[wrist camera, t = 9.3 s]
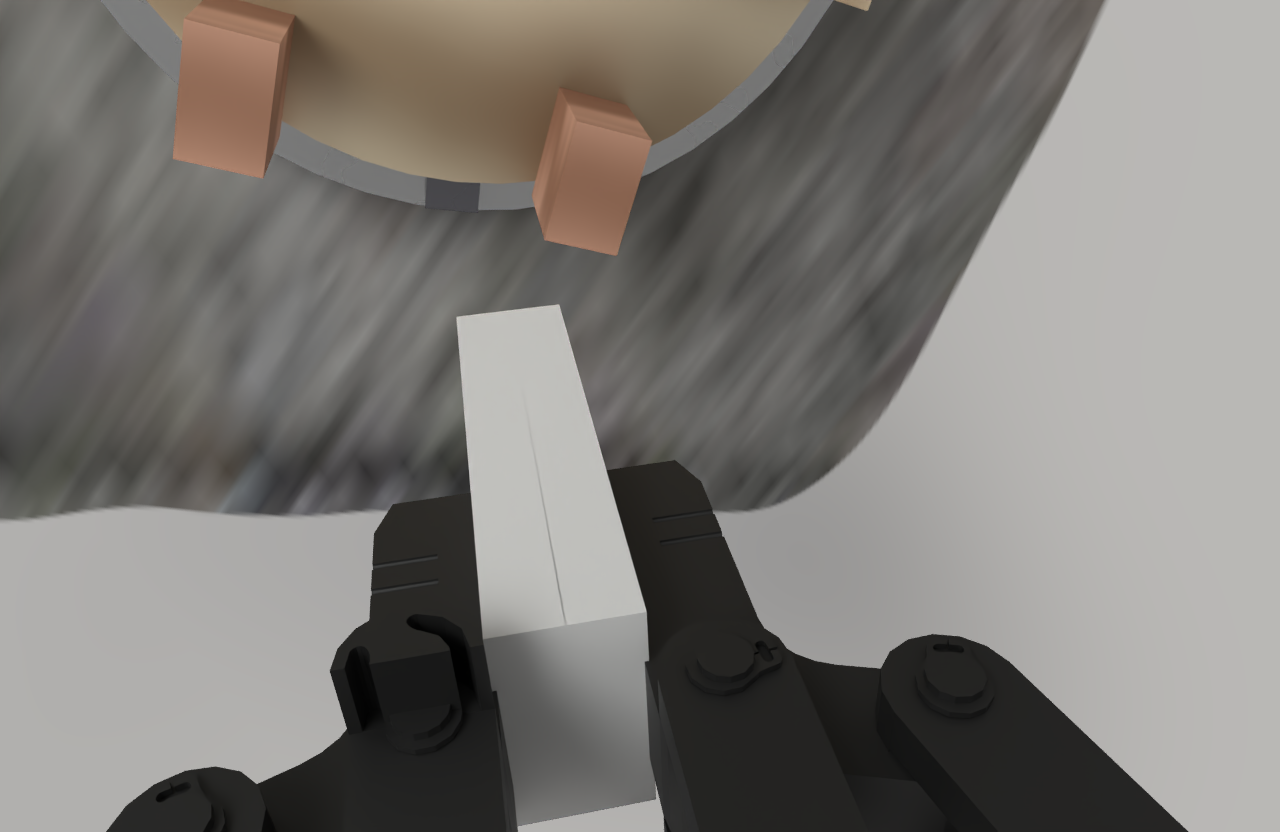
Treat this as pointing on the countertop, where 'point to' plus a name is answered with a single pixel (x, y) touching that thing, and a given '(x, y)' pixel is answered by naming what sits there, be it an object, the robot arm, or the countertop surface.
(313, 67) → the ring nut
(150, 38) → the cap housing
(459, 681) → the robot arm
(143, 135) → the countertop surface
